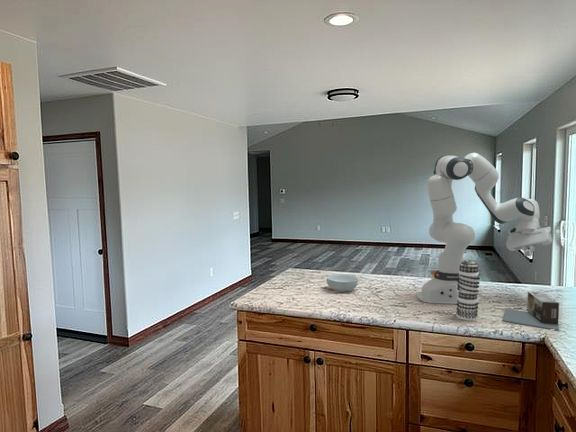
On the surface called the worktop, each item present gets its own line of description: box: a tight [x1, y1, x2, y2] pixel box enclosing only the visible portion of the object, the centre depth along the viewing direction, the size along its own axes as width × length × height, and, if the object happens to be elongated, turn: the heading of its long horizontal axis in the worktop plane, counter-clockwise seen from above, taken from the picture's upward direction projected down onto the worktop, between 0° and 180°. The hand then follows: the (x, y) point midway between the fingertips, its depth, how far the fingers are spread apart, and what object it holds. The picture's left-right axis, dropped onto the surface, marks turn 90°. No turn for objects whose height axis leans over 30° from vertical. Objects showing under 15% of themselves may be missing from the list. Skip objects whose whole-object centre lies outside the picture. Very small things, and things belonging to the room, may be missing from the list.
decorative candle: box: [455, 259, 481, 321], centre depth 172 cm, size 9×9×25 cm
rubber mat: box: [501, 308, 560, 331], centre depth 170 cm, size 18×20×1 cm
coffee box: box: [526, 291, 560, 324], centre depth 171 cm, size 9×6×16 cm
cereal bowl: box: [326, 273, 359, 293], centre depth 216 cm, size 17×17×7 cm
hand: (528, 255), depth 188 cm, fingers closed
